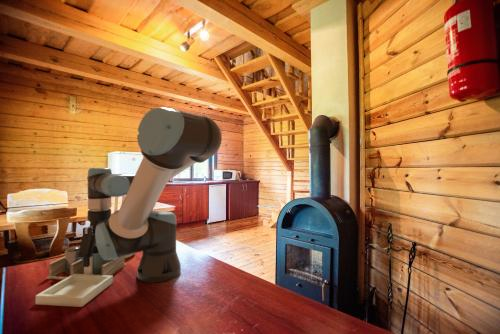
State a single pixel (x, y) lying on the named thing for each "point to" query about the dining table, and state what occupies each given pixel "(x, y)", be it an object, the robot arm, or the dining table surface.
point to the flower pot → (97, 261)
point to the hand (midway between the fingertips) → (99, 268)
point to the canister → (71, 257)
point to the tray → (74, 290)
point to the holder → (78, 267)
